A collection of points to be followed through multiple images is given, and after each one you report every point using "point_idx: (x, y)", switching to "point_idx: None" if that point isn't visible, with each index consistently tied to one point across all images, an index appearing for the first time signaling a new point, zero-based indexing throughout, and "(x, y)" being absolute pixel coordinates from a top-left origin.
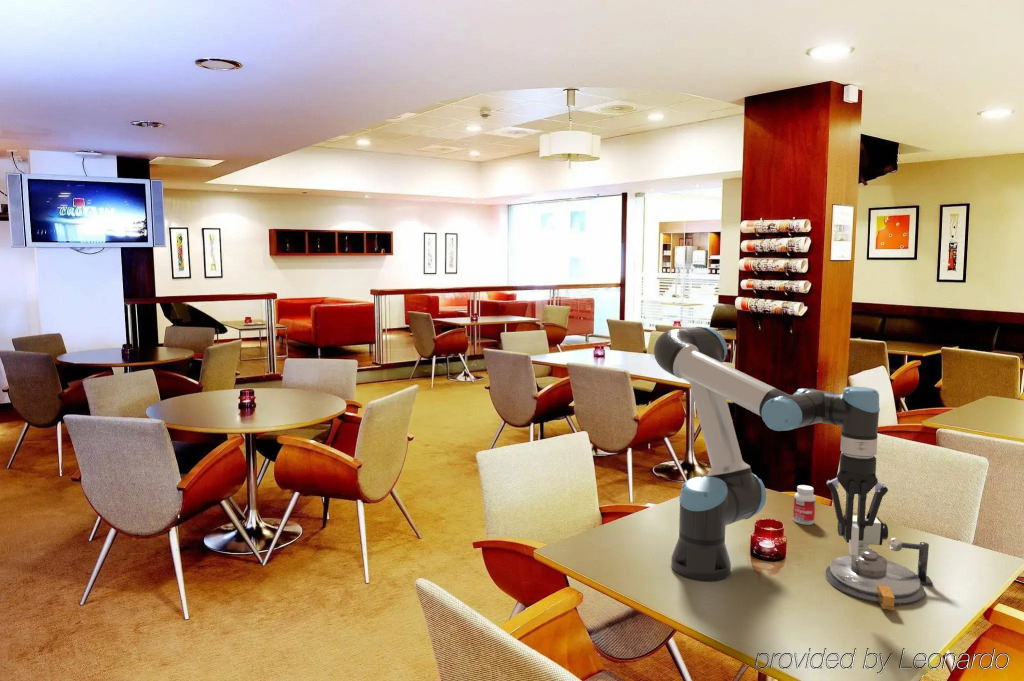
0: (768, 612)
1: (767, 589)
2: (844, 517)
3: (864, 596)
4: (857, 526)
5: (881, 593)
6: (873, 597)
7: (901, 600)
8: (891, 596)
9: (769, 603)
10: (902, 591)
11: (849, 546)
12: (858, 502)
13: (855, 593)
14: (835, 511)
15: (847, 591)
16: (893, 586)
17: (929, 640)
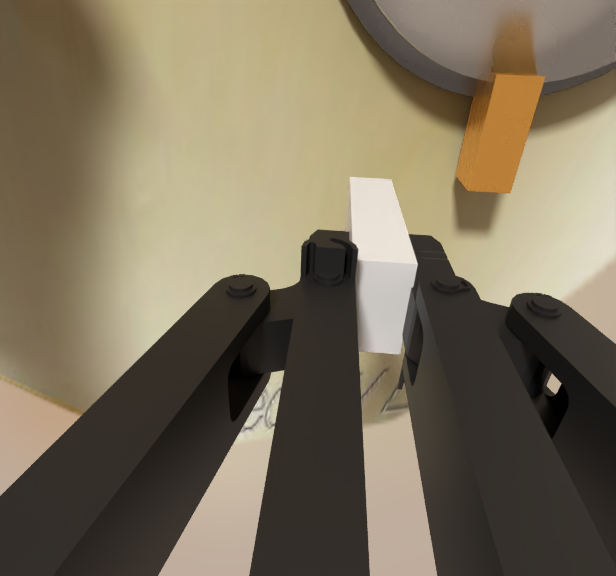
0: (101, 251)
1: (67, 80)
2: (285, 324)
3: (427, 81)
4: (401, 317)
5: (474, 160)
6: (462, 82)
7: (572, 81)
8: (502, 184)
9: (94, 194)
10: (602, 64)
11: (348, 210)
12: (467, 522)
13: (398, 61)
14: (173, 336)
15: (372, 35)
16: (587, 22)
17: None
